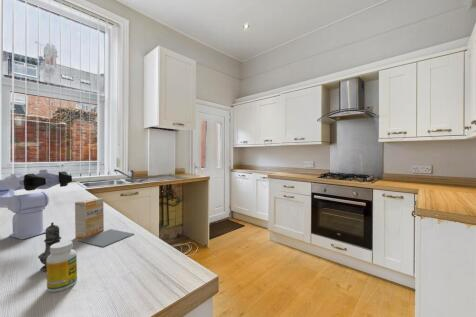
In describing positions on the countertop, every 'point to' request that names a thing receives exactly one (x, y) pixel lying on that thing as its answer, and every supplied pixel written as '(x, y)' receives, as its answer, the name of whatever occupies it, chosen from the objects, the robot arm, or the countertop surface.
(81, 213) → the supplement box
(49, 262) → the supplement bottle
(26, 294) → the countertop surface
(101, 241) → the slate mat
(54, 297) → the countertop surface
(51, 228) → the stone chess piece
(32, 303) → the countertop surface
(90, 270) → the countertop surface
